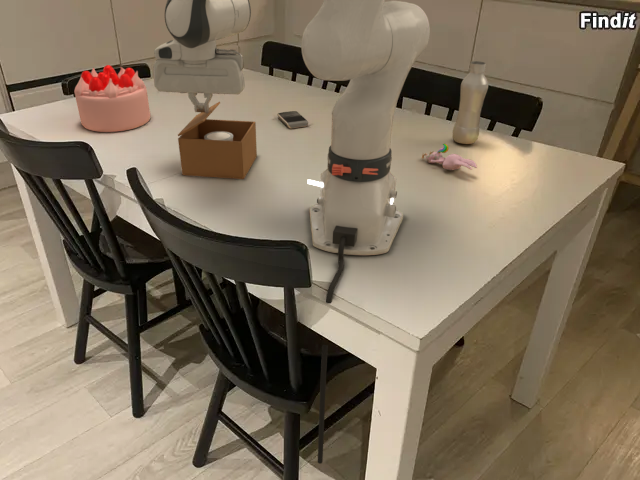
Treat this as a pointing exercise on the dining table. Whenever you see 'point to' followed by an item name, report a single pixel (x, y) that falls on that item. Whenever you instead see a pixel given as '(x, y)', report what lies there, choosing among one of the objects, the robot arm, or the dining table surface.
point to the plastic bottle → (471, 104)
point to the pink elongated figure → (449, 159)
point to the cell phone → (292, 119)
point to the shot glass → (219, 136)
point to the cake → (112, 100)
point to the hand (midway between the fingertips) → (202, 111)
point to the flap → (198, 119)
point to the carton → (218, 149)
